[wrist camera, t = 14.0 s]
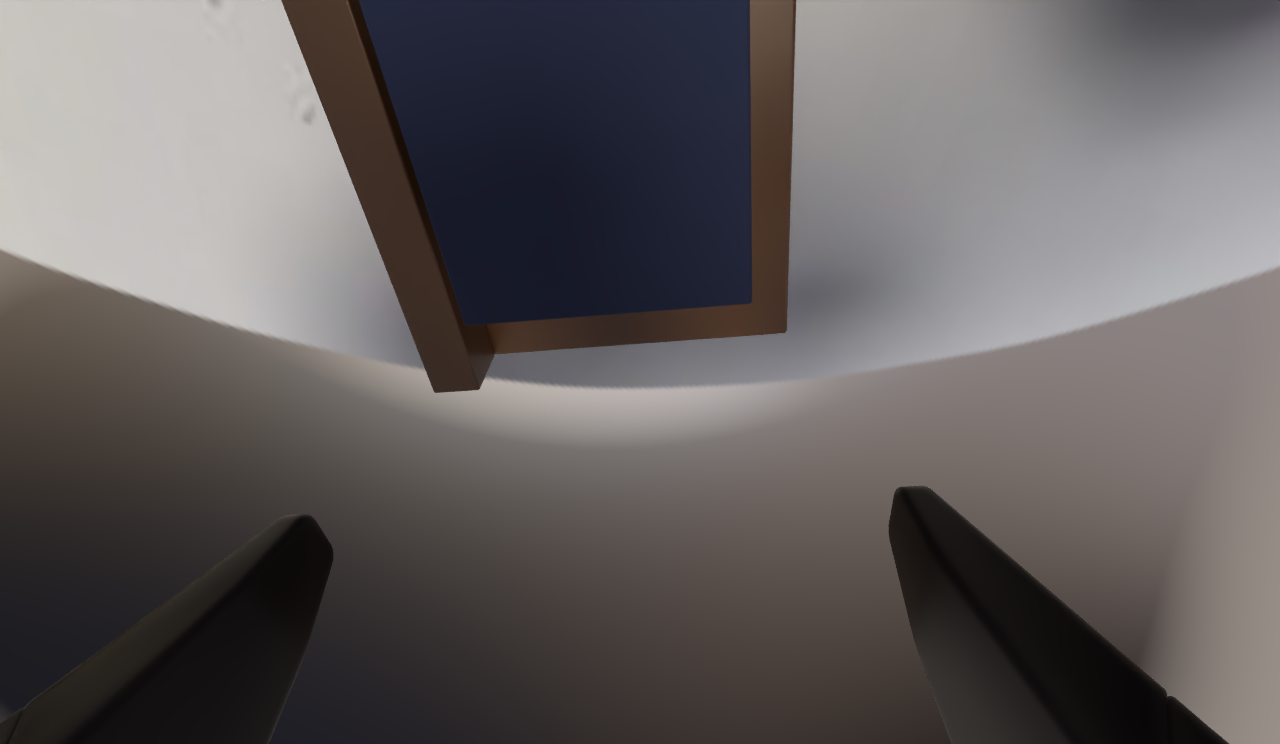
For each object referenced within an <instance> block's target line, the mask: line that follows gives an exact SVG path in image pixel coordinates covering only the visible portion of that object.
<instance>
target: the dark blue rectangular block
mask: <svg viewBox="0 0 1280 744" xmlns="http://www.w3.org/2000/svg"><path fill="white" fill-rule="evenodd" d="M359 3H360V6H361V9H362V12H363V15H364V18H365V21H366V24H367V27H368V30H369V33H370V37H371V40H372V43H373V46H374V49H375V52H376V55H377V58H378V61H379V64H380V67H381V70H382V73H383V76H384V79H385V83H386V86H387V89H388V92H389V95H390V98H391V101H392V104H393V107H394V110H395V113H396V116H397V119H398V122H399V125H400V129H401V132H402V135H403V138H404V141H405V144H406V147H407V150H408V153H409V156H410V159H411V162H412V165H413V168H414V171H415V175H416V178H417V181H418V184H419V187H420V190H421V193H422V196H423V199H424V202H425V205H426V208H427V211H428V214H429V217H430V221H431V224H432V227H433V230H434V233H435V236H436V239H437V242H438V245H439V248H440V251H441V254H442V257H443V260H444V263H445V267H446V270H447V273H448V276H449V279H450V282H451V285H452V288H453V291H454V294H455V297H456V300H457V303H458V306H459V309H460V313H461V316H462V319H463V322H464V324H465V325H466V326H471V325H484V324H497V323H510V322H523V321H535V320H548V319H561V318H574V317H587V316H600V315H612V314H625V313H638V312H651V311H664V310H677V309H690V308H702V307H715V306H728V305H741V304H750V303H751V302H752V201H751V84H750V0H359Z"/></svg>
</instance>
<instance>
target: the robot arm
mask: <svg viewBox="0 0 1280 744" xmlns="http://www.w3.org/2000/svg"><path fill="white" fill-rule="evenodd" d="M889 538H890V543H891V547H892V551H893V555H894V559H895V564H896V568H897V572H898V576H899V580H900V584H901V588H902V593H903V597H904V601H905V605H906V608H907V613H908V617H909V621H910V625H911V629H912V633H913V637H914V641H915V644H916V647H917V650H918V653H919V656H920V659H921V661H922V664H923V667H924V670H925V673H926V675H927V678H928V680H929V683H930V686H931V689H932V692H933V694H934V697H935V700H936V703H937V705H938V708H939V711H940V714H941V716H942V719H943V721H944V724H945V727H946V730H947V733H948V735H949V738H950V741H951V744H1229V743H1228V742H1226V741H1225V740H1224V739H1223V738H1222V737H1221V736H1219V735H1218V734H1217V733H1216V732H1215V731H1213V730H1212V729H1211V728H1210V727H1208V726H1207V725H1206V724H1205V723H1204V722H1203V721H1201V720H1200V719H1199V718H1198V717H1197V716H1196V715H1194V714H1193V713H1192V712H1191V711H1190V710H1188V709H1187V708H1186V707H1185V706H1184V705H1183V704H1182V703H1180V702H1179V701H1178V700H1177V699H1176V698H1174V697H1172V696H1168V697H1167V693H1166V690H1165V689H1164V688H1163V687H1161V686H1160V685H1159V684H1158V683H1157V682H1156V681H1154V680H1153V679H1152V678H1151V677H1150V676H1149V675H1147V674H1146V673H1145V672H1144V671H1143V670H1142V669H1140V668H1139V667H1138V666H1137V665H1136V664H1135V663H1133V662H1132V661H1131V660H1130V659H1129V658H1128V657H1126V656H1125V655H1124V654H1123V653H1122V652H1120V651H1119V650H1118V649H1117V648H1116V647H1115V646H1114V645H1112V644H1111V643H1110V642H1109V641H1108V640H1106V639H1105V638H1104V637H1103V636H1102V635H1101V634H1099V633H1098V632H1097V631H1096V630H1095V629H1094V628H1093V627H1091V626H1090V625H1089V624H1088V623H1087V622H1085V621H1084V620H1083V619H1082V618H1081V617H1080V616H1079V615H1077V614H1076V613H1075V612H1074V611H1073V610H1071V609H1070V608H1069V607H1068V606H1067V605H1066V604H1065V603H1063V602H1062V601H1061V600H1060V599H1059V598H1058V597H1056V596H1055V595H1054V594H1053V593H1052V592H1051V591H1049V590H1048V589H1047V588H1046V587H1045V586H1044V585H1042V584H1041V583H1040V582H1039V581H1038V580H1037V579H1035V578H1034V577H1033V576H1032V575H1031V574H1030V573H1028V572H1027V571H1026V570H1025V569H1024V568H1022V567H1021V566H1020V565H1019V564H1018V563H1017V562H1016V561H1014V560H1013V559H1012V558H1011V557H1010V556H1008V555H1007V554H1006V553H1005V552H1004V551H1003V550H1002V549H1000V548H999V547H998V546H997V545H995V543H993V542H992V541H991V540H990V539H989V538H987V537H986V536H985V535H984V534H983V533H982V532H980V531H979V530H978V529H977V528H976V527H975V526H973V525H972V524H971V523H970V522H969V521H968V520H966V519H965V518H964V517H963V516H962V515H961V514H959V513H958V512H957V511H956V510H955V509H954V508H952V507H951V506H950V505H949V504H948V503H947V502H945V501H944V500H943V499H942V498H941V497H940V496H938V495H937V494H936V493H935V492H934V491H933V490H931V489H930V488H928V487H926V486H907V487H899V488H898V489H896V491H895V494H894V499H893V504H892V510H891V516H890V521H889ZM332 562H333V549H332V546H331V544H330V542H329V541H328V539H327V538H326V536H325V534H324V533H323V531H322V530H321V528H320V527H319V525H318V523H317V522H316V520H315V519H314V518H313V517H312V516H310V515H306V514H304V515H303V514H302V515H287V516H283V517H281V518H279V519H278V520H276V521H275V522H274V523H272V524H271V525H270V526H268V527H267V528H265V529H264V530H263V531H261V532H260V533H259V534H257V535H256V536H255V537H253V538H252V539H251V540H249V541H248V542H246V543H245V544H244V545H243V546H241V547H240V548H238V549H237V550H236V551H235V552H233V553H231V554H230V555H229V556H227V557H226V558H225V559H223V560H222V561H221V562H219V563H218V564H216V565H215V566H214V567H212V568H211V569H210V570H208V571H207V572H206V573H204V574H203V575H201V576H200V577H199V578H198V579H196V580H195V581H193V582H192V583H191V584H189V585H188V586H187V587H185V588H184V589H182V590H181V591H180V592H178V593H177V594H176V595H174V596H173V597H172V598H170V599H169V600H168V601H166V602H165V603H163V604H162V605H161V606H160V607H158V608H157V609H155V610H154V611H153V612H151V613H150V614H148V615H147V616H146V617H145V618H143V619H142V620H140V621H139V622H138V623H136V624H135V625H134V626H132V627H131V628H129V629H128V630H127V631H125V632H124V633H123V634H121V635H120V636H119V637H117V638H116V639H115V640H113V641H112V642H110V643H109V644H108V645H106V646H105V647H104V648H102V649H101V650H99V651H98V652H97V653H95V654H94V655H93V656H91V657H90V658H89V659H87V660H86V661H85V662H83V663H82V664H80V665H79V666H78V667H76V668H75V669H74V670H72V671H71V672H70V673H68V674H67V675H66V676H64V677H63V678H62V679H60V680H59V681H57V682H56V683H55V684H53V685H52V686H51V687H49V688H48V689H46V690H45V691H44V692H42V693H41V694H40V695H38V696H37V697H36V698H34V699H33V700H32V701H30V702H29V703H28V704H27V705H26V707H25V708H21V709H19V710H18V711H16V712H15V713H14V714H13V715H11V716H10V717H8V718H7V719H6V720H4V721H3V722H1V723H0V744H269V741H270V739H271V736H272V734H273V731H274V729H275V727H276V724H277V721H278V719H279V717H280V714H281V712H282V709H283V707H284V704H285V702H286V699H287V697H288V695H289V692H290V690H291V687H292V685H293V682H294V680H295V678H296V675H297V673H298V670H299V667H300V665H301V662H302V660H303V657H304V655H305V651H306V648H307V645H308V642H309V639H310V636H311V633H312V630H313V626H314V623H315V619H316V616H317V613H318V610H319V606H320V603H321V599H322V596H323V593H324V589H325V586H326V582H327V579H328V576H329V573H330V569H331V566H332Z"/></svg>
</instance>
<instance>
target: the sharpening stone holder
mask: <svg viewBox="0 0 1280 744" xmlns="http://www.w3.org/2000/svg"><path fill="white" fill-rule="evenodd" d="M282 3H283V6H284V8H285V11H286V13H287V16H288V18H289V21H290V24H291V26H292V29H293V31H294V34H295V36H296V39H297V42H298V44H299V47H300V49H301V52H302V54H303V57H304V59H305V62H306V65H307V67H308V70H309V72H310V75H311V77H312V80H313V83H314V85H315V88H316V90H317V93H318V95H319V98H320V101H321V103H322V106H323V108H324V111H325V113H326V116H327V118H328V121H329V124H330V126H331V129H332V131H333V134H334V136H335V139H336V142H337V144H338V147H339V149H340V152H341V154H342V157H343V160H344V162H345V165H346V167H347V170H348V172H349V175H350V177H351V180H352V183H353V185H354V188H355V190H356V193H357V195H358V198H359V201H360V203H361V206H362V208H363V211H364V213H365V216H366V218H367V221H368V224H369V226H370V229H371V231H372V234H373V236H374V239H375V242H376V244H377V247H378V249H379V252H380V254H381V257H382V260H383V262H384V265H385V267H386V270H387V272H388V275H389V277H390V280H391V283H392V285H393V288H394V290H395V293H396V295H397V298H398V301H399V303H400V306H401V308H402V311H403V313H404V316H405V319H406V321H407V324H408V326H409V329H410V331H411V334H412V336H413V339H414V342H415V344H416V347H417V349H418V352H419V354H420V357H421V360H422V362H423V365H424V367H425V370H426V372H427V375H428V377H429V380H430V382H431V385H432V388H433V390H434V392H435V393H439V392H454V391H469V390H479V389H480V387H481V384H482V382H483V380H484V378H485V376H486V373H487V371H488V369H489V367H490V364H491V362H492V360H493V358H494V354H505V353H519V352H532V351H546V350H559V349H573V348H587V347H600V346H614V345H627V344H641V343H655V342H668V341H682V340H695V339H709V338H723V337H736V336H750V335H764V334H777V333H785V332H786V331H787V309H788V273H789V237H790V202H791V166H792V130H793V94H794V59H795V23H796V0H750V84H751V201H752V302H751V303H750V304H741V305H728V306H715V307H702V308H690V309H677V310H664V311H651V312H638V313H625V314H612V315H600V316H587V317H574V318H561V319H548V320H535V321H523V322H510V323H497V324H484V325H471V326H466V325H465V324H464V322H463V319H462V316H461V313H460V309H459V306H458V303H457V300H456V297H455V294H454V291H453V288H452V285H451V282H450V279H449V276H448V273H447V270H446V267H445V263H444V260H443V257H442V254H441V251H440V248H439V245H438V242H437V239H436V236H435V233H434V230H433V227H432V224H431V221H430V217H429V214H428V211H427V208H426V205H425V202H424V199H423V196H422V193H421V190H420V187H419V184H418V181H417V178H416V175H415V171H414V168H413V165H412V162H411V159H410V156H409V153H408V150H407V147H406V144H405V141H404V138H403V135H402V132H401V129H400V125H399V122H398V119H397V116H396V113H395V110H394V107H393V104H392V101H391V98H390V95H389V92H388V89H387V86H386V83H385V79H384V76H383V73H382V70H381V67H380V64H379V61H378V58H377V55H376V52H375V49H374V46H373V43H372V40H371V37H370V33H369V30H368V27H367V24H366V21H365V18H364V15H363V12H362V9H361V6H360V3H359V0H282Z"/></svg>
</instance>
